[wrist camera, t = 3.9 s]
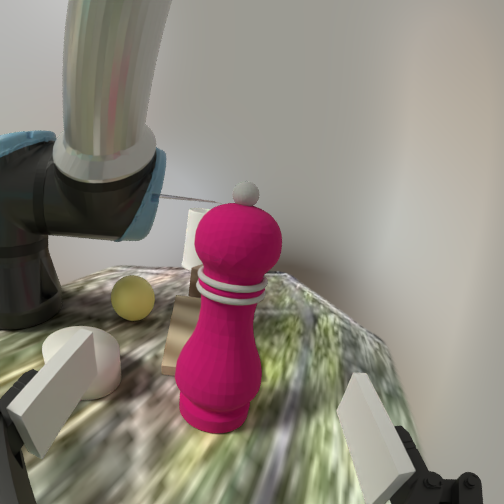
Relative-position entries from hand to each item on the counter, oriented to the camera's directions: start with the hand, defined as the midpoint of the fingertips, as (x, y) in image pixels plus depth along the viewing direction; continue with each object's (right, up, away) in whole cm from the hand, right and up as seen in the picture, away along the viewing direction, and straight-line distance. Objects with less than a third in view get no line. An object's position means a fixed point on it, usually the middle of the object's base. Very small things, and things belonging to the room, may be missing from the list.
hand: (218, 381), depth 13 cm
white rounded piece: (-15, -6, +11) cm, 20 cm away
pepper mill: (-2, -8, +11) cm, 14 cm away
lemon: (-14, -3, +24) cm, 28 cm away
